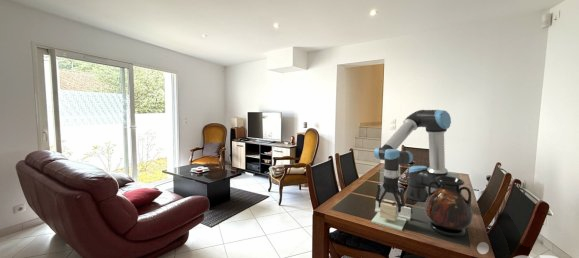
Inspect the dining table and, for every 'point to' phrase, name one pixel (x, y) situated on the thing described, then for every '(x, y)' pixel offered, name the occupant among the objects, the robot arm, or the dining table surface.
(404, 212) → the white slab
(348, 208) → the dining table surface
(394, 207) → the maple cube
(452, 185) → the amphora vase
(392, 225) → the display pad
